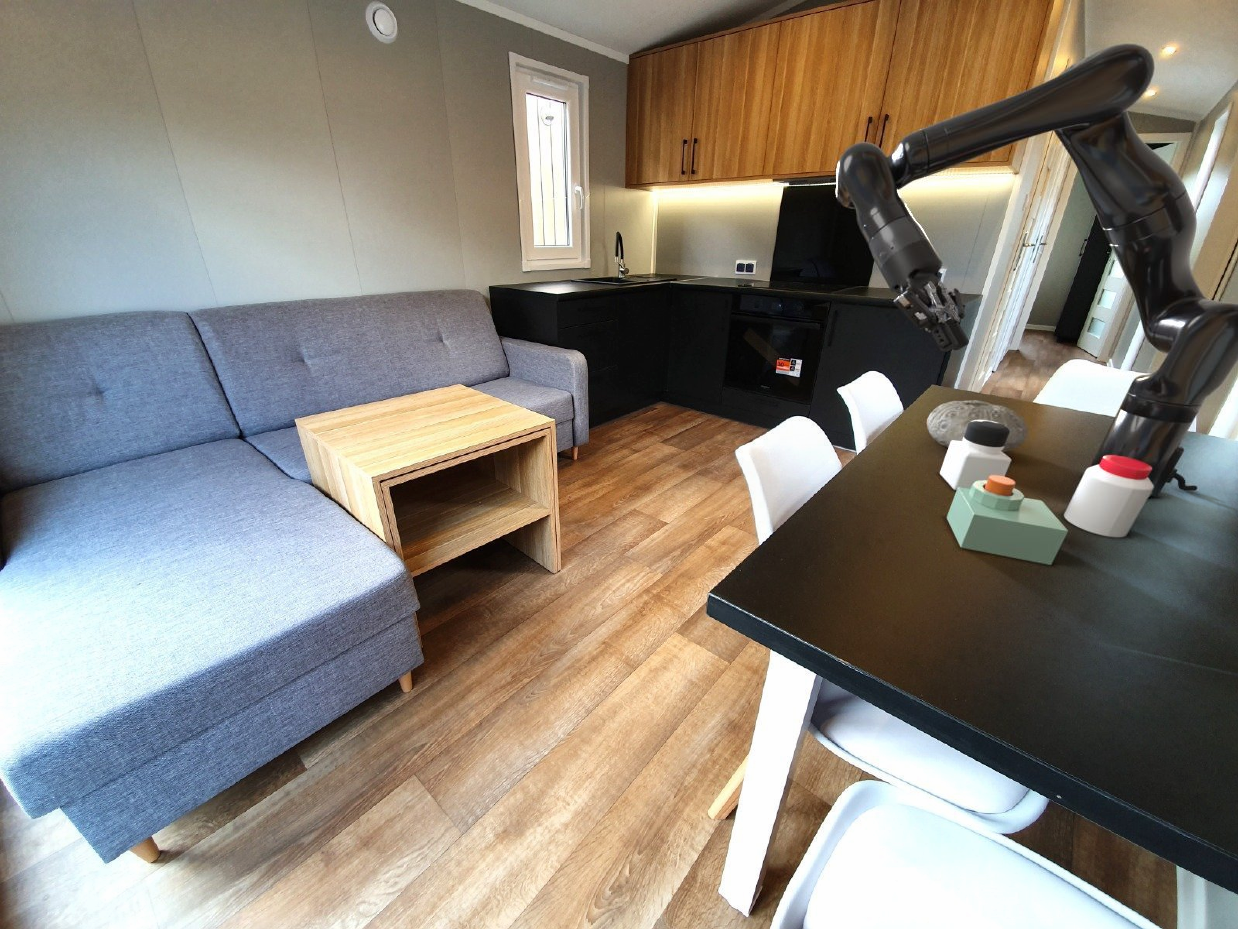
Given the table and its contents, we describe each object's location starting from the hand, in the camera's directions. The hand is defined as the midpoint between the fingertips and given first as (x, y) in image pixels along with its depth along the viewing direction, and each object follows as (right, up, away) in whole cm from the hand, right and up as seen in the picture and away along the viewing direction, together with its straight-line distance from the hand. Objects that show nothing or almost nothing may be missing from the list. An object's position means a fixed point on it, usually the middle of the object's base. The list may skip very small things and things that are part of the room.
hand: (956, 347), depth 74 cm
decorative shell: (+25, -14, +33) cm, 44 cm away
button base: (+6, -29, 0) cm, 30 cm away
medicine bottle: (+13, -22, +17) cm, 30 cm away
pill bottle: (+26, -27, +5) cm, 38 cm away
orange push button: (+5, -22, -1) cm, 22 cm away
